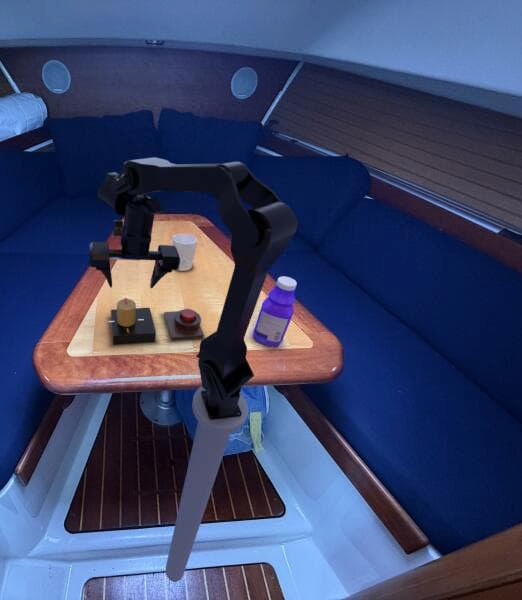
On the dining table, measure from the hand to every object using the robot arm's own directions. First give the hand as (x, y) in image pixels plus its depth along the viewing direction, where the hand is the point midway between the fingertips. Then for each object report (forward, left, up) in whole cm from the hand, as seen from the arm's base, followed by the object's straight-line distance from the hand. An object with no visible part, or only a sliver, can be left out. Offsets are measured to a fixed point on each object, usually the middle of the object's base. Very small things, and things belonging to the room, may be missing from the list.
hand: (131, 286), depth 73 cm
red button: (-1, -14, -10) cm, 17 cm away
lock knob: (-1, +1, -9) cm, 10 cm away
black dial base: (-1, 0, -12) cm, 13 cm away
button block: (-1, -13, -12) cm, 18 cm away
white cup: (+30, -20, -13) cm, 39 cm away
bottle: (-8, -33, -13) cm, 36 cm away
